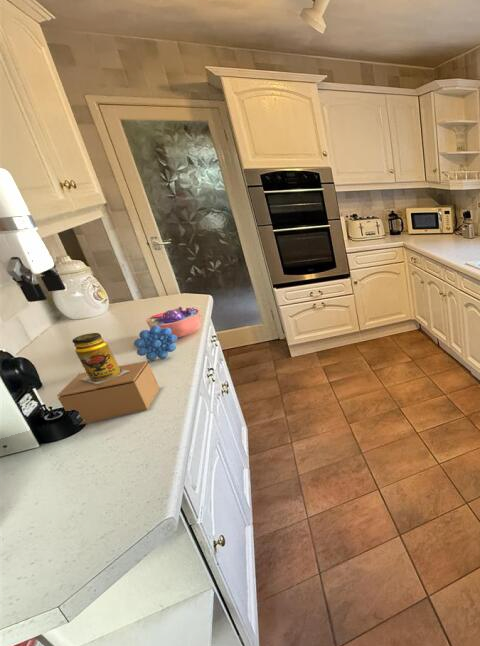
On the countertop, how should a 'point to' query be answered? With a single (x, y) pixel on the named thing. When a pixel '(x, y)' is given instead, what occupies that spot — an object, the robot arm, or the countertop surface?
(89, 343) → the condiment
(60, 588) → the countertop surface
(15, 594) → the countertop surface
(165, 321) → the cell model
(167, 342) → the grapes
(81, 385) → the flap
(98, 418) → the carton
